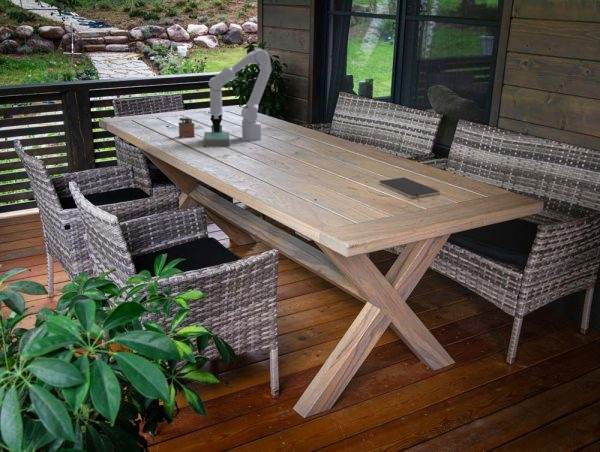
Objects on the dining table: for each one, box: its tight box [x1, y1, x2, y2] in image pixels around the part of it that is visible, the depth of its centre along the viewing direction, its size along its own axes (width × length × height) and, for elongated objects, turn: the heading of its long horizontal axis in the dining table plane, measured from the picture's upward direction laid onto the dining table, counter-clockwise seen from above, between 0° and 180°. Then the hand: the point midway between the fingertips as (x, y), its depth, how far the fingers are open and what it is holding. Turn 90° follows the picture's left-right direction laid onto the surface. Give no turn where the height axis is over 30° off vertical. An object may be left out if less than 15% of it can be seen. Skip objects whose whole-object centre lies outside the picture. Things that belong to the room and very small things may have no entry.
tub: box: [203, 139, 230, 147], centre depth 308 cm, size 12×14×4 cm
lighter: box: [178, 117, 196, 139], centre depth 319 cm, size 8×3×10 cm, turn 84°
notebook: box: [378, 176, 440, 198], centre depth 244 cm, size 13×2×21 cm
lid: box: [203, 124, 230, 141], centre depth 307 cm, size 12×14×5 cm
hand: (216, 130), depth 313 cm, fingers open, 6 cm apart
